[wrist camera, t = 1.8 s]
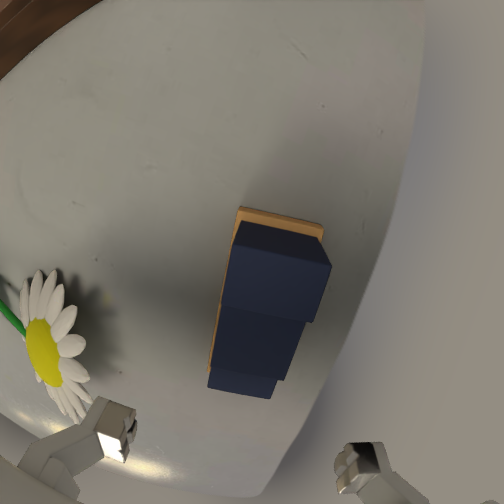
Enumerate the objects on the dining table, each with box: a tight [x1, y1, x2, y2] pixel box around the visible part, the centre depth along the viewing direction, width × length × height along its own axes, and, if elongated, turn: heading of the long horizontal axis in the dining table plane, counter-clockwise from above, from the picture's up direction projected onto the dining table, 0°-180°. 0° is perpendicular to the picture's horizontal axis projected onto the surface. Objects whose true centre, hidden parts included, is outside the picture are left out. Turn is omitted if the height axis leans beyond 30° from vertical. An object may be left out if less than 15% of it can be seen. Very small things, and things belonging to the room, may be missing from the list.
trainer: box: [207, 207, 332, 399], centre depth 17 cm, size 12×5×6 cm, turn 168°
